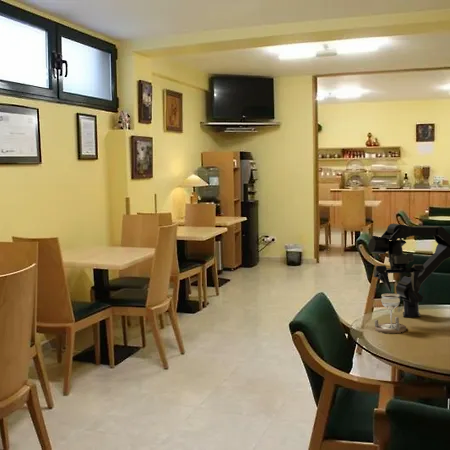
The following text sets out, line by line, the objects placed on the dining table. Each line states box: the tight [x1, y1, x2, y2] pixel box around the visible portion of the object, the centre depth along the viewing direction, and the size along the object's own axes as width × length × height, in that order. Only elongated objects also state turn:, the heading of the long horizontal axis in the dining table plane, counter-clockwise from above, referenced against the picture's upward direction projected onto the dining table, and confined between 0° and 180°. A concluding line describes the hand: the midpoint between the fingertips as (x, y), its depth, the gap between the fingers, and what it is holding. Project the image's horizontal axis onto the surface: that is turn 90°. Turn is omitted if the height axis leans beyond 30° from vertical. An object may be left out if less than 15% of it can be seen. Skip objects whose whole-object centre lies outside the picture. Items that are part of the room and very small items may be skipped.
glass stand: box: [374, 316, 407, 335], centre depth 211 cm, size 11×11×4 cm
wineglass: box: [381, 292, 401, 328], centre depth 211 cm, size 7×7×12 cm
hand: (402, 291), depth 217 cm, fingers open, 9 cm apart
